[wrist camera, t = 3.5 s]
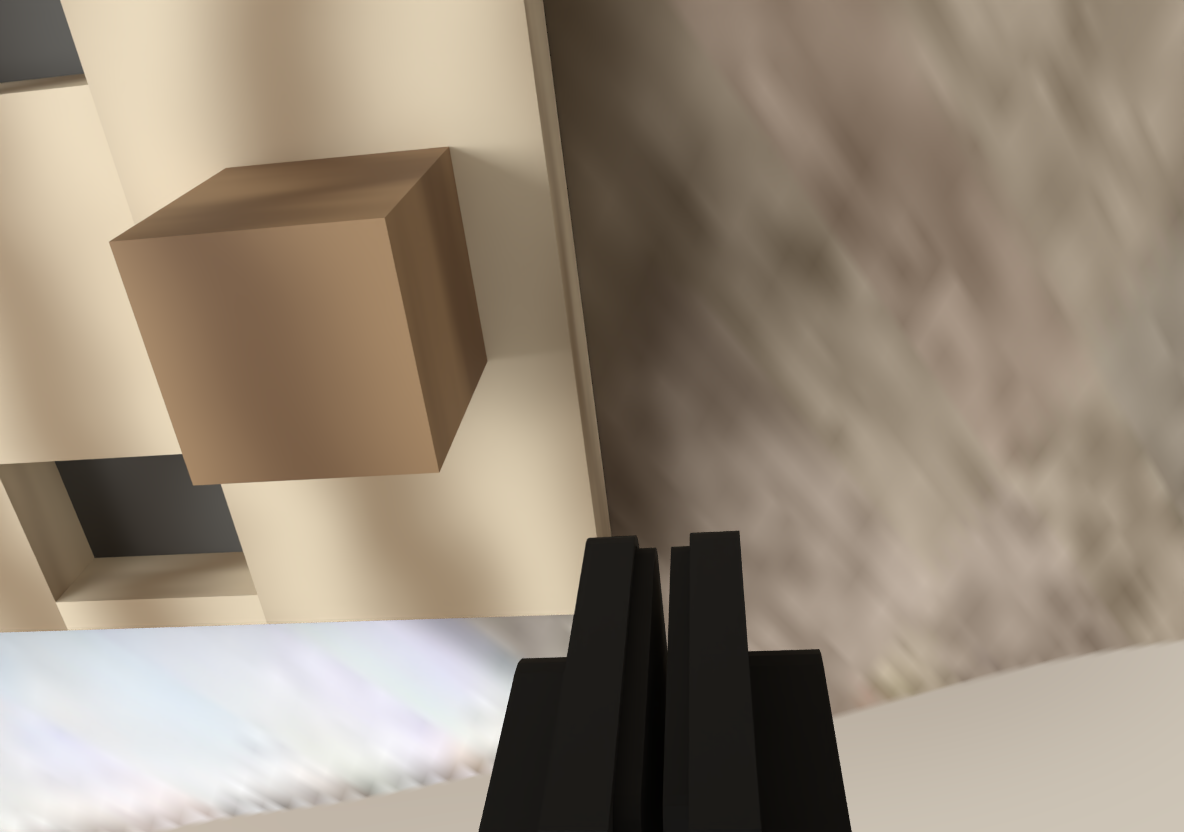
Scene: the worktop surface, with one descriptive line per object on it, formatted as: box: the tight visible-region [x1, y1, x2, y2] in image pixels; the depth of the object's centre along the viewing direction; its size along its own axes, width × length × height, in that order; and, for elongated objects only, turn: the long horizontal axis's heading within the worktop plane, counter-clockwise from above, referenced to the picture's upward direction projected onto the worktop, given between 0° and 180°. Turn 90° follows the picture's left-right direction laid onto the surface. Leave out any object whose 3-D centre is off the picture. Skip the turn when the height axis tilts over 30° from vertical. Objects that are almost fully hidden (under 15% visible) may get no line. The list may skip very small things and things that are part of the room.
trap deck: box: [0, 0, 612, 632], centre depth 25 cm, size 23×20×2 cm
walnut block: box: [109, 146, 487, 485], centre depth 21 cm, size 5×5×5 cm
